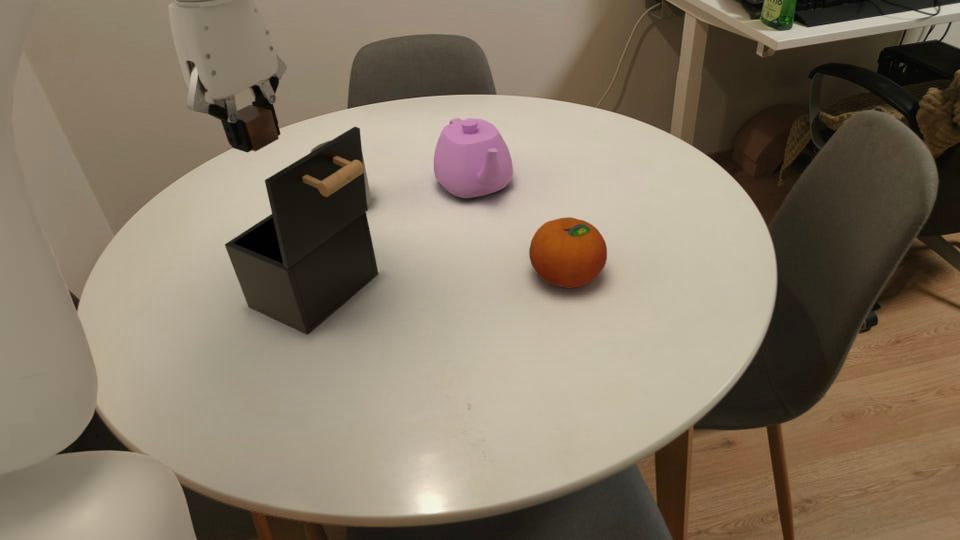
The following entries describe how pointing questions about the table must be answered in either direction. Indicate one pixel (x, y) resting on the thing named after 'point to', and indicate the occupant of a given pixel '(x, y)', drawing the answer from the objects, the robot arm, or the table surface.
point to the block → (258, 126)
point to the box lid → (318, 196)
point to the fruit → (568, 252)
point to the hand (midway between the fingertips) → (256, 140)
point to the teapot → (472, 158)
